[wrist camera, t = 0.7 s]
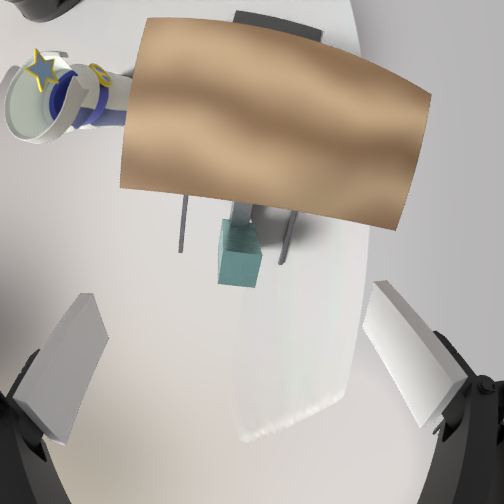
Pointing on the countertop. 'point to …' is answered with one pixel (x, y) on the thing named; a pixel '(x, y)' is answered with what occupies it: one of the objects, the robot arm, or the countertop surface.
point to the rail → (285, 244)
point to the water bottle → (63, 98)
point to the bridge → (270, 122)
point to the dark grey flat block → (277, 25)
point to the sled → (238, 248)
